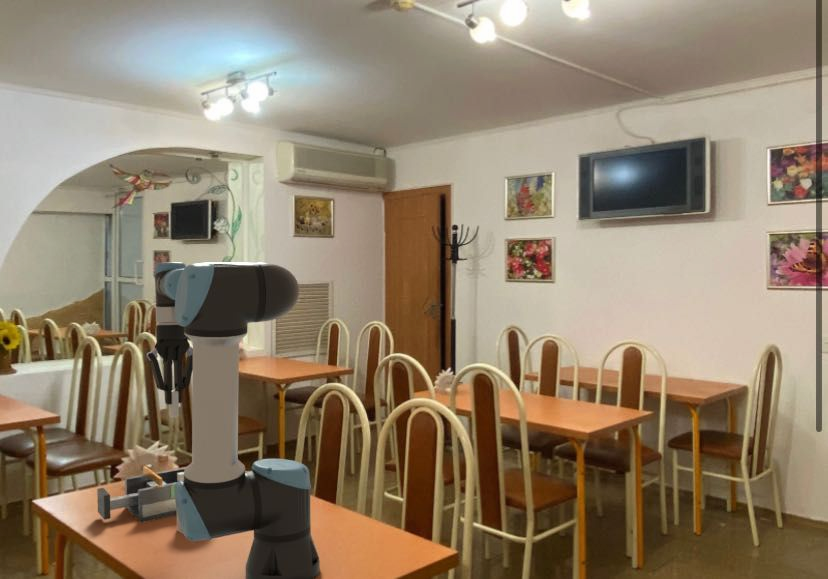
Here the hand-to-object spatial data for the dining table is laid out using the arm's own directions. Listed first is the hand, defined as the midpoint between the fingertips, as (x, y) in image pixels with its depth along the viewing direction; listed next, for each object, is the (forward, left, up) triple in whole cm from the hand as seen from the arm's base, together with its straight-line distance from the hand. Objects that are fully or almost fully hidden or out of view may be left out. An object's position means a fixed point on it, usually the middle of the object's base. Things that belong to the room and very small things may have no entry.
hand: (173, 416), depth 174 cm
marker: (+5, -3, -18) cm, 19 cm away
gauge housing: (+11, -1, -26) cm, 29 cm away
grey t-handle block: (+11, +7, -25) cm, 28 cm away
